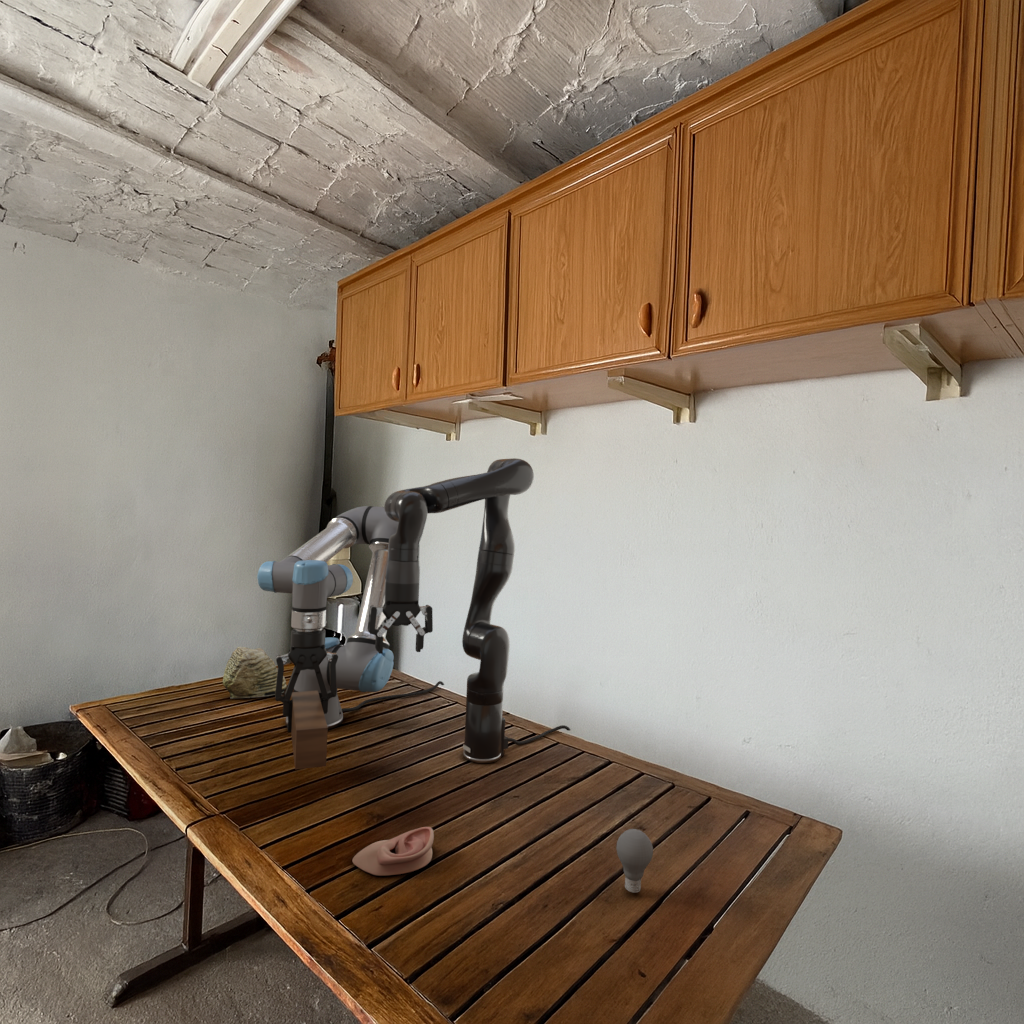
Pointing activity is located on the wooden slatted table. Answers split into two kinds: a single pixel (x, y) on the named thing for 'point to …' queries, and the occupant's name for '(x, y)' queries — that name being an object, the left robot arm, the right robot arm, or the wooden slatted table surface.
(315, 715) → the bar
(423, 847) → the anatomical model
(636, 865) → the light bulb
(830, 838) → the wooden slatted table surface
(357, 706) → the left robot arm
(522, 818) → the wooden slatted table surface
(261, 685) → the fossil
